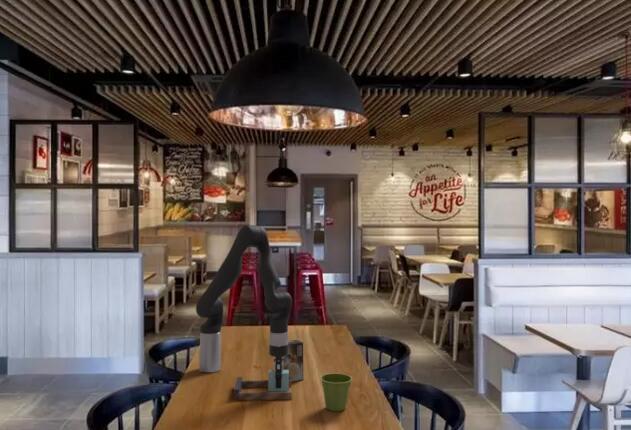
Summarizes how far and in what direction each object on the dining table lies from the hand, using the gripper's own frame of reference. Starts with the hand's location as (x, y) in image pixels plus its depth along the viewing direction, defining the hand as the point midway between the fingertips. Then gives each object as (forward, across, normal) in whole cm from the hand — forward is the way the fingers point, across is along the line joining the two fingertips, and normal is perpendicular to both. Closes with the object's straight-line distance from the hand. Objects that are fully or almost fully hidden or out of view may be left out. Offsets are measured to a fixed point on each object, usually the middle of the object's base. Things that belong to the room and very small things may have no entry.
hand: (278, 385), depth 226 cm
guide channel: (+3, 0, -6) cm, 7 cm away
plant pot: (+3, +19, +21) cm, 29 cm away
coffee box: (+3, -17, +5) cm, 18 cm away
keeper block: (+1, 0, 0) cm, 1 cm away
